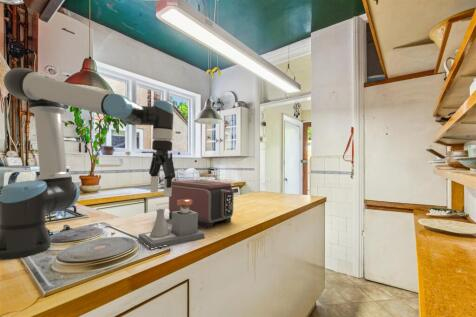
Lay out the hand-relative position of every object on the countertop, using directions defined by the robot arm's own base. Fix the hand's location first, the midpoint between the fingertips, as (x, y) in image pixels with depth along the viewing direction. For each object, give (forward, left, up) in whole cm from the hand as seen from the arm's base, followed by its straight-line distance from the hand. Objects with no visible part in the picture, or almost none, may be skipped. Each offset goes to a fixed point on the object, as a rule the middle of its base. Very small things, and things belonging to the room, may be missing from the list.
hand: (160, 194), depth 94 cm
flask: (0, 0, -16) cm, 16 cm away
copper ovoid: (+11, 0, -12) cm, 16 cm away
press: (+5, 0, -18) cm, 19 cm away
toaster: (+30, +17, -19) cm, 40 cm away
